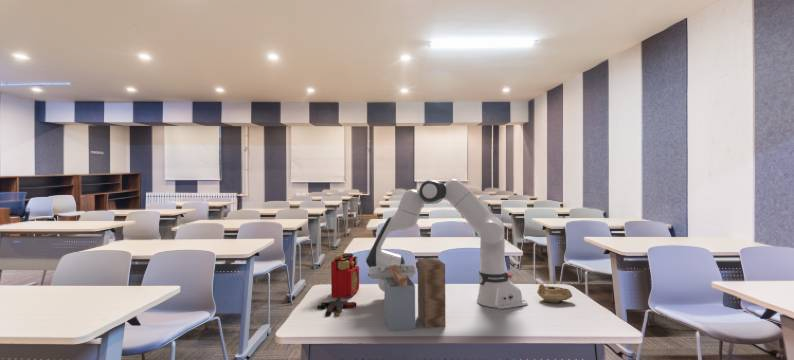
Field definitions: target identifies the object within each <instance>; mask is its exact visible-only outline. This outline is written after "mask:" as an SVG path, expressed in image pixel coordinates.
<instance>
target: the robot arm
mask: <svg viewBox="0 0 794 360" xmlns="http://www.w3.org/2000/svg"><path fill="white" fill-rule="evenodd" d="M443 200H445V201H447V202H449V203H450V204H451V205H452V206H453V207H454V208H455V210H456V211H457V212H458V213H459V214H460V215H461V216H462V217H463V219H465V220H466V222H467V223H468V224H469V226H470V227H471V228H472V230H473V231H474V232H475V233H476V234H477V236H478V237H479V238H480V249H479V272H478V283H479V287H478V295H477V298H476V302H477V303H478V304H480V305H482V306H485V307H490V308H495V309H498V310H503V309H511V308H516V307H522V306H527V305H528V301H527V300H526V299H525V298H523V296H522V291H521V289H520V288H519V287H518V286H517V285H515V284H514V283H513V282H512V281H510V280H509V279H513V278H514V276H513V274H511V273H508V272H506V271H505V270H506V269H505V268H506V267H505V265H506V263H505V261H506V259H505V258H506V256H505V253H506V252H505V225H504V223H503V221H502V220H501V219H500V218H499V217H496V216H494V214H493V213H492V212H491V211H490V210H489V209H488V207H487V206H486V205H485V204H484V203H483V202H482V201H481V200H480V199H479V198H478V196H477V195H476V194H474V192H472V190H470V188H468V187H467V186H466V185H465V184H464V183H462V182H461V181H460V180H458V179H457V178H452V179H449V180H447V181H446V182H445V183H443V182H440V181H437V180H434V179H428V180H426V181H423V182H422V184H420V185H419V189H418V190H417V189H412V188H411V189H407V190H406V191H404V193H403V195H402V197H401V199H400V202H399V204H398V207H397V210H396V212H395V213H394V215H393V216H390V217H388V218H387V219H386V220H385V222H384V224H383V226H382V227H381V229H380V231H379V234H378V235H377V237H376V239H375V241H374V243H373V246H372V247H371V248H370V250H368V252H367V255H366V257H365V263H366V264H367V266H368V267H369V270H368V271H369V272H368V273H367V277H369V278H370V279H372V280H377V285H378V287H379V289H380V290H381V291H382V292H384V279H386V278H391V277H393V276H392V275H391V273H390V265H397V266H398V267H399V269H400V270H401V271H402V272H403V274H404V275H405V276H406V277H408V278H409V279H410V280H411V278H413V277H414V276H415V274H416V265H414V264H405V262H406V261H405V259H404V256H402V255H401V254H398V253H396V252H391V251H389V250H388V251H387V250H384V249H382V246H383V245H384V243H385V241H386V239H387V237H388V235H389V234H390V233H392V232H395V231H406V230H410V229H413V228H414V227H415V226H416V225H417V223H418V220H419V219H420V215H421V211H422V209H423V206H424V205H429V204H430V205H436V204H439V203H440V202H441V201H443Z"/></svg>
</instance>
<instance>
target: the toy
mask: <svg viewBox="0 0 794 360" xmlns="http://www.w3.org/2000/svg"><path fill="white" fill-rule="evenodd" d="M351 308H352V309H354V308H357V302H355V301H348V300H341V297H338V298H337V299H335V300H330V301H328V302H327V301H325V302H323V301H322V302H321V303H320V304H319V305H316V310H325V309H326V313H325V316H326V317H331V316H332V313H333V312H334V313H335V315H337V316H340V315H341V313H342V311H343V309H351Z"/></svg>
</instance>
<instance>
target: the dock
mask: <svg viewBox="0 0 794 360" xmlns="http://www.w3.org/2000/svg"><path fill="white" fill-rule="evenodd" d="M383 292H384V321H385V323H386V326H387V328H388V331H389V332H392V331H393V332H394V331H404V330H415V329H416V285H415V284H414V282H413V281H412V280H411V278H410V279H409V278H408V277H407V286H398V284H397V283H396V281H395V279H394V278H393V277H391V278H386V279H384V291H383Z"/></svg>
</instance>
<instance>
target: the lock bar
mask: <svg viewBox="0 0 794 360" xmlns="http://www.w3.org/2000/svg"><path fill="white" fill-rule="evenodd" d="M390 273H391V275H392V276H393V278H394V279H395V281H396V283H397V284H398V286H407V277H406V276H405V275H404V274H403V272H402V271H401V270H400V269H399V267H398V266H397V265H390Z"/></svg>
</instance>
